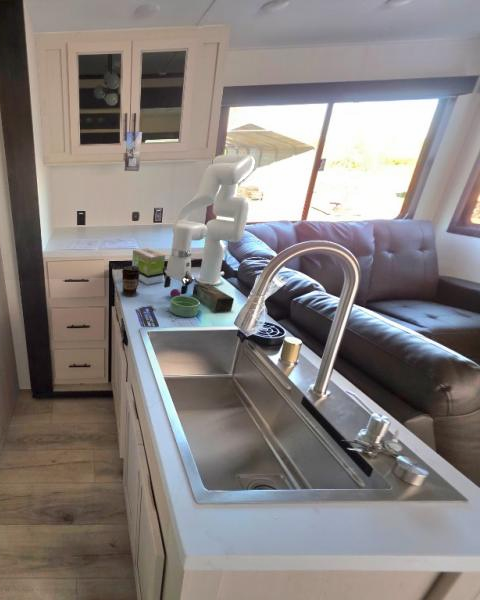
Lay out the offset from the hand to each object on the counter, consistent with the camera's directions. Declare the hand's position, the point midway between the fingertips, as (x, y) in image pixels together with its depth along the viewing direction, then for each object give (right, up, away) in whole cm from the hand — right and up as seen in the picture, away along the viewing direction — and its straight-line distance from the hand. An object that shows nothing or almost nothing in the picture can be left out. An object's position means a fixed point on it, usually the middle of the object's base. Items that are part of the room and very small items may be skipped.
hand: (175, 290), depth 142 cm
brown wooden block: (+15, -6, -3) cm, 16 cm away
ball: (0, -2, +1) cm, 2 cm away
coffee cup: (-19, -2, +7) cm, 21 cm away
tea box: (-7, +7, +26) cm, 28 cm away
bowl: (0, -9, -11) cm, 15 cm away
